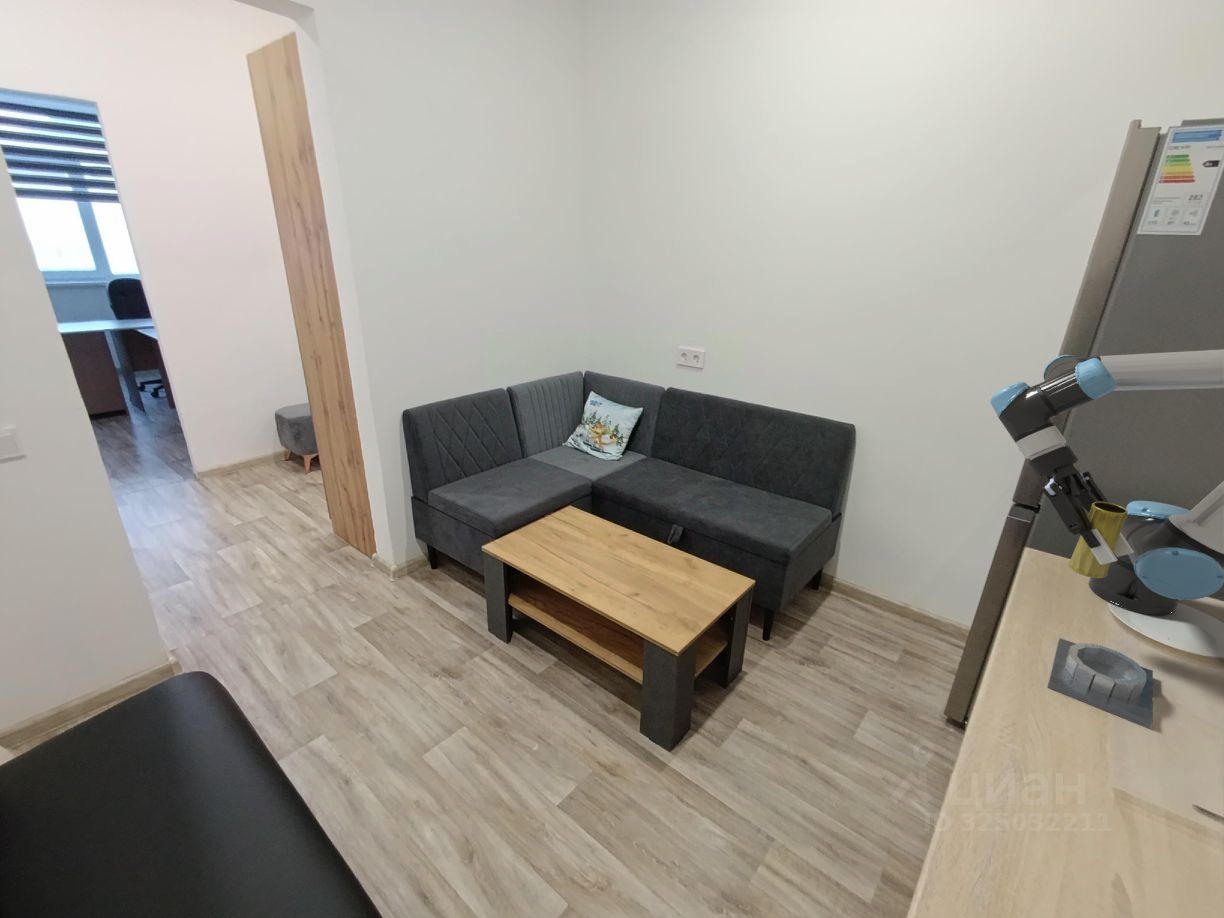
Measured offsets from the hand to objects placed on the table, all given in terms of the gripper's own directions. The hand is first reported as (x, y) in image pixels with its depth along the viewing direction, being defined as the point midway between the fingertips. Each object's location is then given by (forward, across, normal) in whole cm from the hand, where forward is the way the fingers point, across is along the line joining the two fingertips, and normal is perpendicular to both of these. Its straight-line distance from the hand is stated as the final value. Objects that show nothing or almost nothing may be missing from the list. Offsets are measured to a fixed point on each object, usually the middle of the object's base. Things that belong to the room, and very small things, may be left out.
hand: (1117, 558), depth 105 cm
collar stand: (+19, +10, -9) cm, 24 cm away
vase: (+1, 0, -6) cm, 6 cm away
